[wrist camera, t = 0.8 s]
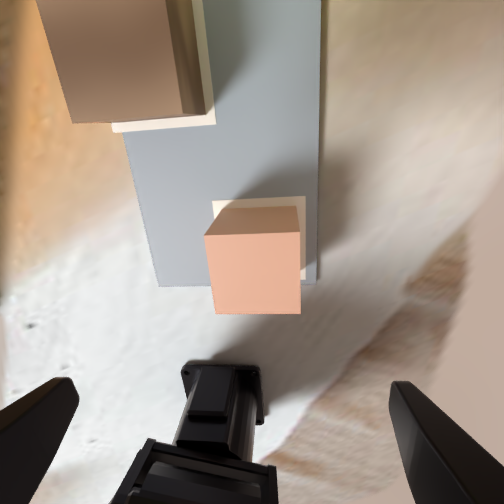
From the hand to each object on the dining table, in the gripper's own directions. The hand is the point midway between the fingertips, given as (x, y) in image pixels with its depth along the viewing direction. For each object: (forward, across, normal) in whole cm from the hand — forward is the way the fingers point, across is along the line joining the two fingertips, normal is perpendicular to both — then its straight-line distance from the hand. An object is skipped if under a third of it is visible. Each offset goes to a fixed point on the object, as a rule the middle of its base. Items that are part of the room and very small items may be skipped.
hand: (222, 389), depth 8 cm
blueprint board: (+12, +2, -5) cm, 13 cm away
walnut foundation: (+11, +5, -10) cm, 16 cm away
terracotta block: (+11, 0, 0) cm, 11 cm away
